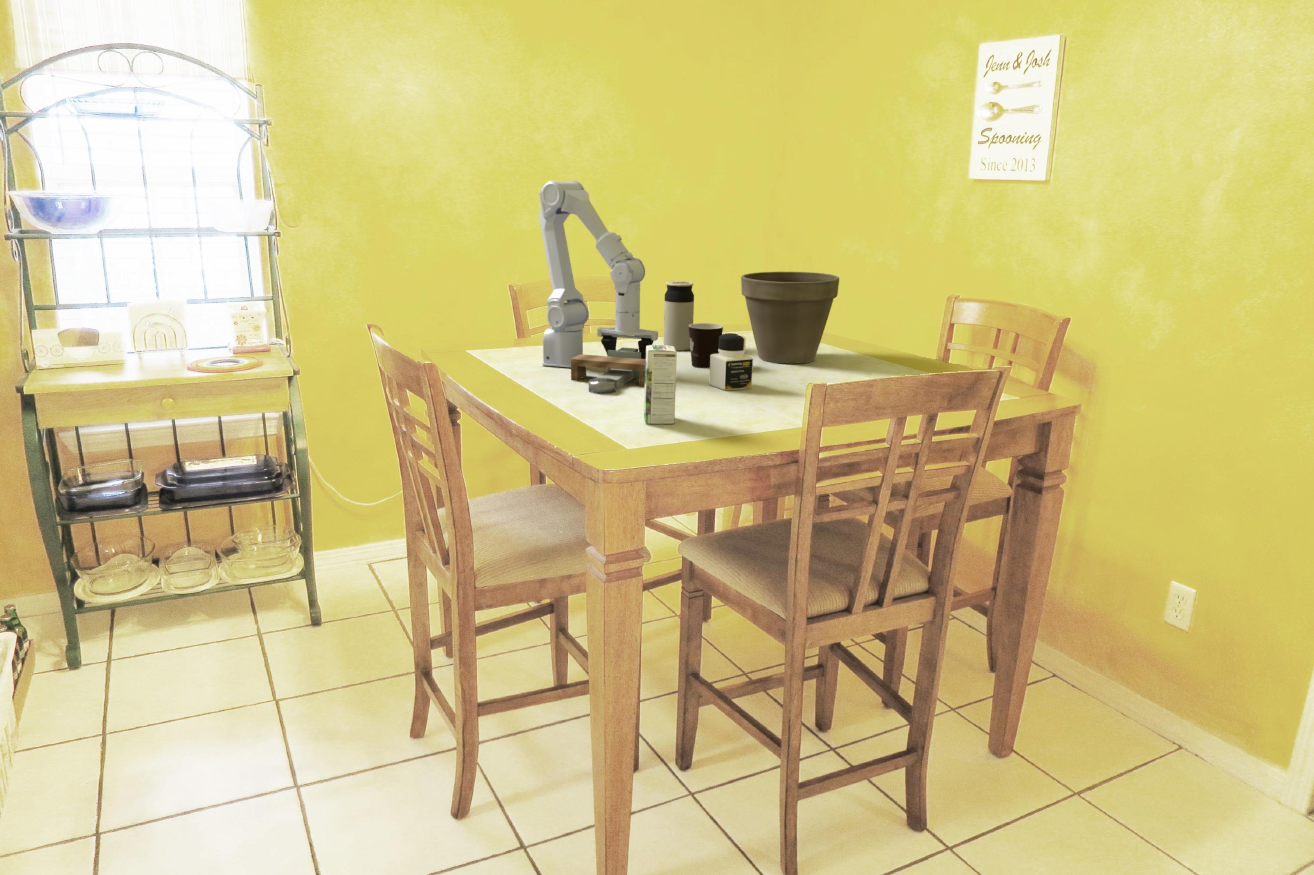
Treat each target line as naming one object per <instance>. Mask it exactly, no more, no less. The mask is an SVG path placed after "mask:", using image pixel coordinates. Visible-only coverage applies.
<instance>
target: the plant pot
mask: <svg viewBox="0 0 1314 875" xmlns="http://www.w3.org/2000/svg"><path fill="white" fill-rule="evenodd" d="M740 281H741V282H740V284H741V287H740V288H741V295H742V296H743V297H744V298H745V303H746V308H747V312H748V313H747V314H748V316H749V322H750V325H751V330H752V331H751V332H752V335H753V339H754V343H755V347H756V351H757V354H758V357H759V359H761V360H762V361H765V362H769V363H775V364H786V365H787V364H788V365H789V364H790V365H791V364H795V365H796V364H805V363H811V362H813V361H815V358H816V355H817V353H818V350H819V348H820V344H821V341H822V337H823V334H824V331H825V328H826V325H827V322H828V320H829V319H828V318H829V316H830V312H831V310H832V307H833V306H832V305H833V302H834V299H836V298H837V297H838V293H839V285H840V277H839V276H837V275H834V274H830V273H823V272H822V273H821V272H813V271H812V272H809V271H763V272H760V271H759V272H751V273H744V274H743V275H742V274H741V277H740Z"/></svg>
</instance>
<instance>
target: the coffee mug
mask: <svg viewBox="0 0 1314 875" xmlns="http://www.w3.org/2000/svg"><path fill="white" fill-rule="evenodd" d="M723 330H724V325H722V324H717V323H709V322H708V323H704V322H703V323H702V322H700V323H693V324H690V325H689V337H690V358H691V366H692V367H693V368H698V369H710V355H711V354H719V352H718V346H719V336H720V335H722V334H723Z"/></svg>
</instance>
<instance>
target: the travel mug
mask: <svg viewBox="0 0 1314 875" xmlns="http://www.w3.org/2000/svg"><path fill="white" fill-rule="evenodd" d="M665 285H666V288H667V289H666V291H665V294H664V306H663V307H664V310H663V311H664V312H663V345H668V346H674V347H675V349H676V351H677V352H684V351H685V352H686V351H691V349H690V337H689V325H690V324H694V316H695V315H694V311H695V310H694V309H695V308H694V307H695V306H694V305H695V293H694V292H693V286H694V282H692V281H686V280H683V281H682V280H673V281H672V280H671V281H667V282H665Z"/></svg>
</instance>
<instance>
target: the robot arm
mask: <svg viewBox="0 0 1314 875" xmlns="http://www.w3.org/2000/svg"><path fill="white" fill-rule="evenodd" d="M538 196H539V201H540V210H539V211H540V212H539V223H540V229H541V230H540V231H541V234H542V241H543V244H544V251H545V256H546V261H547V266H548V272H549V277H550V282H551V287H552V292H551V294H550V296H549V297H548V298H547V300H546V302H547V303H546V304H547V311H546V319H547V323H548V324H549V326H550V327H551V328H549V327H548V328H546V329H545V331H544V333H543V336H542V337H543V338H542V354H543V355H542V359H543V360H542V361H543V362H542V364H541V365H542V366H547V367H559V368H570V369H571V359H572V358H574V357H576V356H578V355H580V354H584V347H583V345H584V340H583V339H584V338H583V337H584V332H583V331H584V328H585V324H587V322H588V320H589V317H590V315H589V314H590V311H589V308H588V306H587V304H586V303H585V301H584V296H583V293H581V292H580V291H579V290H578V289H577V287H576V286H575V285H576V284H575V279H574V275H573V269H572V263H571V258H570V254H569V253H570V252H569V247H568V241H567V237H566V230H565V224H564V223H565V222H566V220H567V219H568V218H569V216H570V215H575V216H576V217H577V218H578V219H579V220H580V222H581V223H582V224H583V226H585V228H586V229H587V230H588V232H590V234H591V235H592V237H593V238H594V239H595V240H596V241H595V242H596V243H595V248H596V250H597V251H598V253H599V254H600V255H601V257H602V258H603V260H604V261H605V262H606V264H607V265H608V267H609V268H610V270H611V271H610V274H609V275H610V278H611V280H612V282H613V284H614V290H615V327H601V326H600V327H597V329H596V335H597V337H601V339H600V343H601V344H602V347H603V348H604V351H605V353H606V355H607V356H608V350H617V343H618V341H617V340H618V338H619V339H620V338H622V339H635V340H638V341H637V346H638V347H637V348H638V352H641V359H646V346H649V345H654V341H655V342H656V341H658V340H659V331H658V330H650V329H642V328H641V327H640V325H641V323H640V321H641V320H640V319H641V318H640V317H641V282H642V281H643V280H644V279H645V276H646V268H645V265H644V263H643V261H642V260H641V259H640V258H637V257H634V256H633V253H631V252H629V250H628V249H627V247H626V246H625V244H624V243H623V241H622V240H623V239H622V237H621V235H619V234H617V233H616V232H611V231H609V230H608V228H607V227H606V225H605V224H604V222H603V220H602V219H601V217H600V216H599V214H598V212H597V210H596V209H595V208H594V205H593V204H592V203H591V200H590V193H589V192H588V191H587V190H586V189H585V187H584V185H583V184H582V183H581V182H580V181H577V180H570V181H556V180H549V181H547V182H545V183H544V184H543V186H542V188H541V190H540V192H538Z"/></svg>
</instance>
